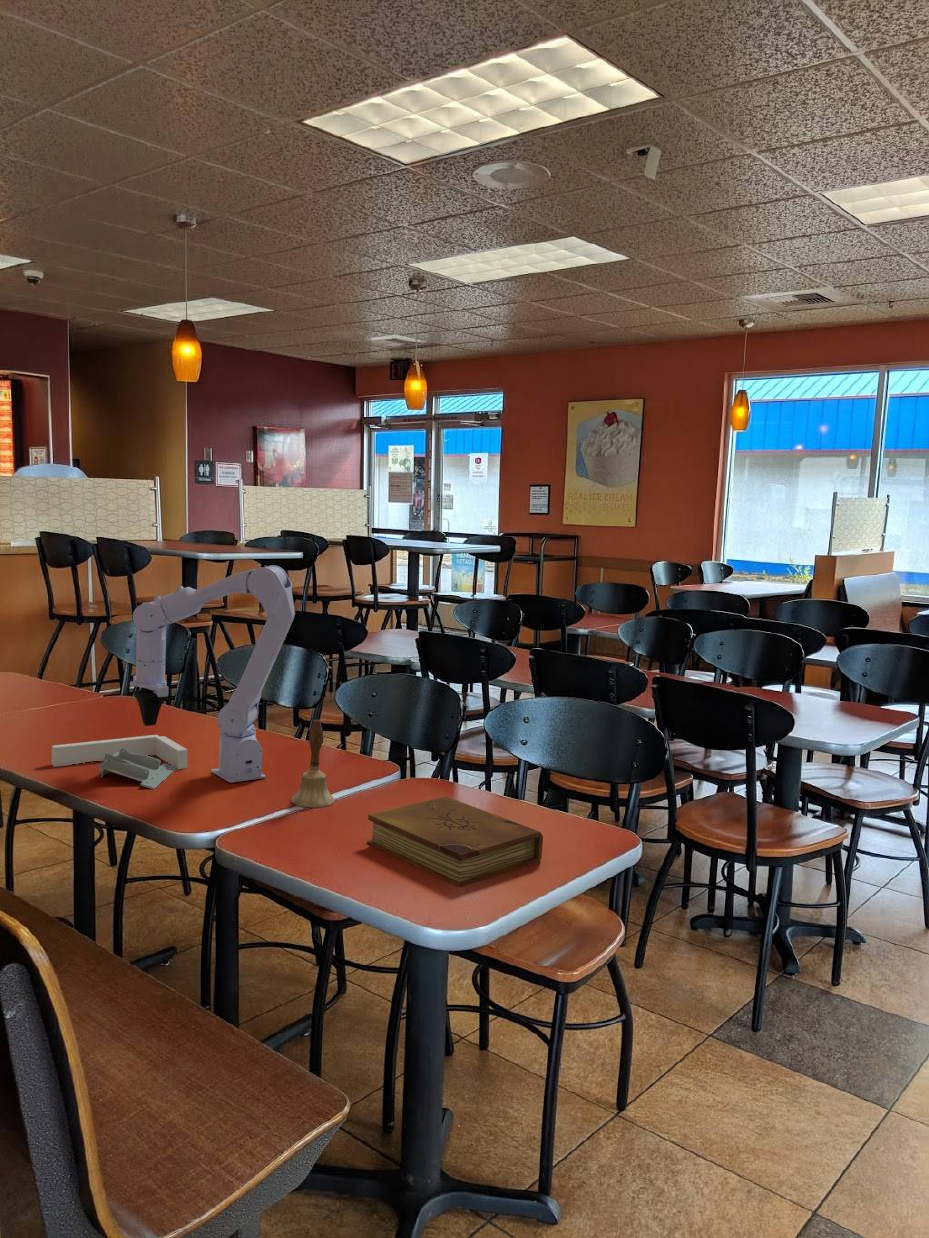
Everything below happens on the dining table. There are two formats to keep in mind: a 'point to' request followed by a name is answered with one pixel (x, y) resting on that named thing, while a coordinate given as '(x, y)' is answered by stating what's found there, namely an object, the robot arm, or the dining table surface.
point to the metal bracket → (137, 767)
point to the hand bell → (314, 776)
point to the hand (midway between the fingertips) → (149, 724)
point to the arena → (135, 745)
